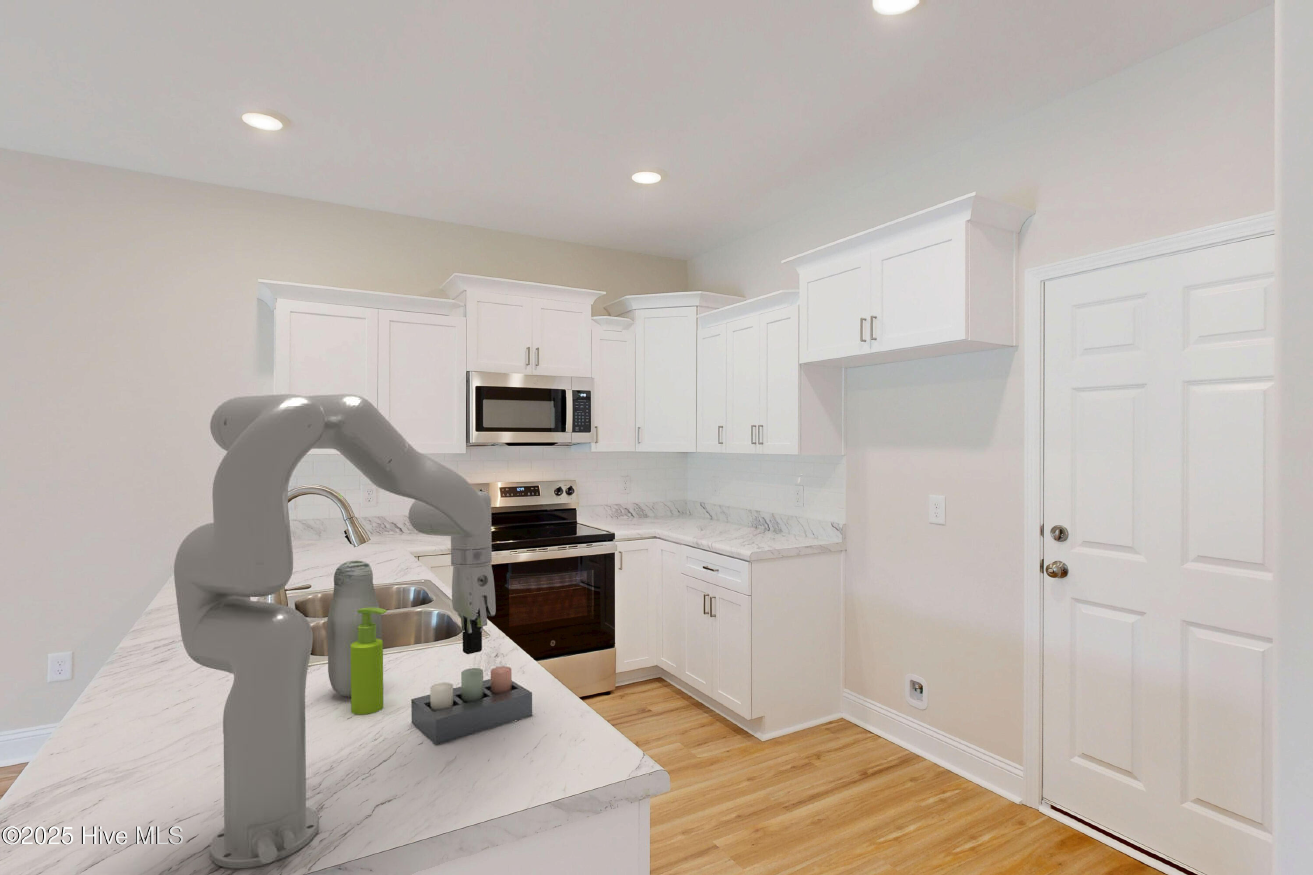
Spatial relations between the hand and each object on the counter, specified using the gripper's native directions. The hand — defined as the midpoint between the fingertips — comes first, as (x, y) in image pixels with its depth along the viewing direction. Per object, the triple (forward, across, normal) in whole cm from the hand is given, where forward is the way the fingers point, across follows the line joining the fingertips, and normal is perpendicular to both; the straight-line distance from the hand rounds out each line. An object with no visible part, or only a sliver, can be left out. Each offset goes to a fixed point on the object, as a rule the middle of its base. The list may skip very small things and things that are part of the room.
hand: (472, 651), depth 128 cm
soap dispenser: (+13, +18, +14) cm, 26 cm away
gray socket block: (+13, 0, 0) cm, 13 cm away
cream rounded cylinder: (+10, 0, +6) cm, 12 cm away
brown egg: (+10, 0, -6) cm, 11 cm away
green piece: (+9, 0, 0) cm, 9 cm away
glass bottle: (+13, +28, +14) cm, 34 cm away
